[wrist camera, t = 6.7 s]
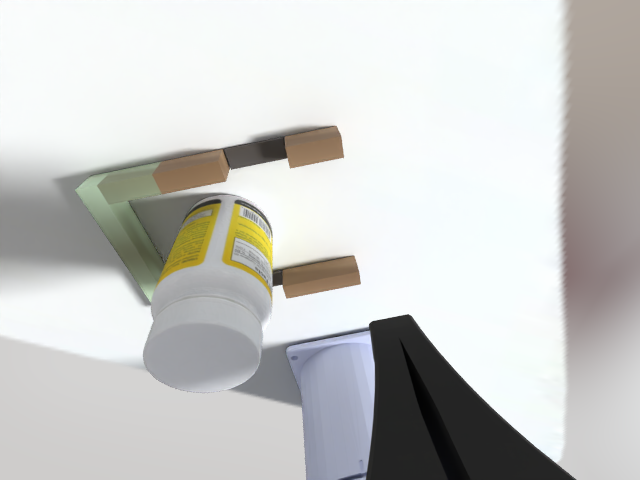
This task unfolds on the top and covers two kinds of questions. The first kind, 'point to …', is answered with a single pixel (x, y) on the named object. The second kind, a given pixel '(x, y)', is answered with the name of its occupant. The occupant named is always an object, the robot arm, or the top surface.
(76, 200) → the top surface
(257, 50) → the top surface
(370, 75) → the top surface
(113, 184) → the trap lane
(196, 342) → the supplement bottle
